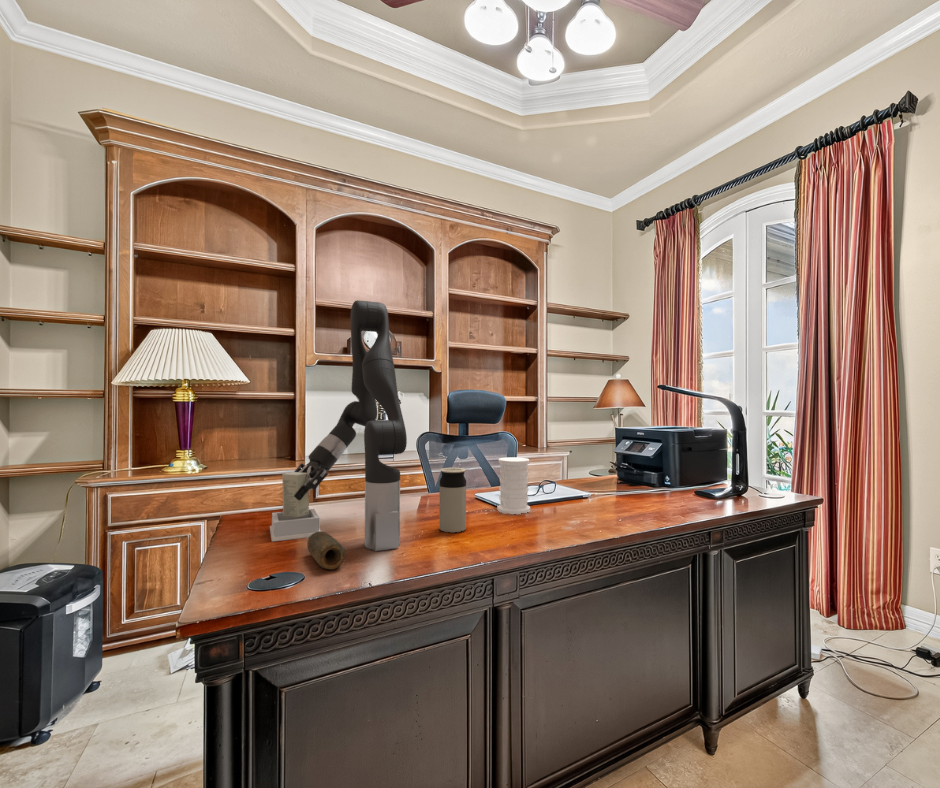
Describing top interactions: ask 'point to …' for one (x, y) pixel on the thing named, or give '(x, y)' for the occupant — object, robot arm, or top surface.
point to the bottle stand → (293, 526)
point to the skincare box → (290, 487)
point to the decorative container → (513, 485)
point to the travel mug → (452, 500)
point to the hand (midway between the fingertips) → (290, 496)
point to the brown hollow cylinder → (326, 550)
